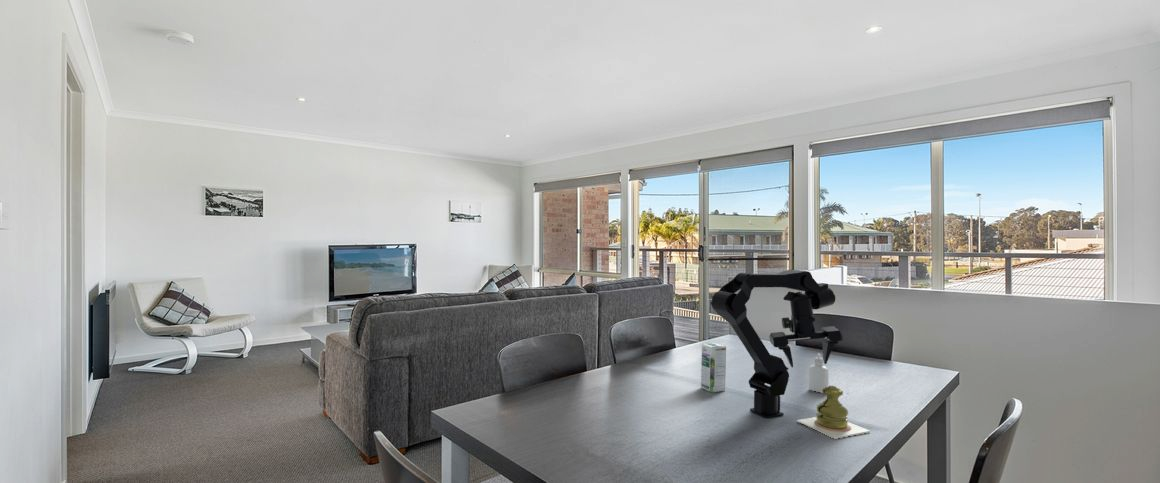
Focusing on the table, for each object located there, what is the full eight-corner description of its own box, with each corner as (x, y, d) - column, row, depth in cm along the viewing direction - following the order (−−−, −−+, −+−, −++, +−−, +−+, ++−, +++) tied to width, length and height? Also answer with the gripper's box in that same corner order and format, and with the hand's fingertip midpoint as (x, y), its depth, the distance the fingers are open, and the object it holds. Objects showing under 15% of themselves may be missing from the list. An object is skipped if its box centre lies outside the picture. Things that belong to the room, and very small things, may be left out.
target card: (834, 439, 121) (834, 437, 121) (796, 422, 132) (796, 419, 132) (869, 432, 126) (869, 430, 126) (830, 416, 137) (830, 414, 137)
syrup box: (700, 387, 161) (700, 343, 161) (714, 385, 164) (715, 342, 163) (711, 393, 156) (712, 347, 156) (726, 390, 158) (726, 345, 158)
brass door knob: (836, 418, 133) (837, 381, 133) (854, 429, 126) (855, 390, 126) (810, 419, 133) (811, 382, 132) (826, 430, 125) (827, 391, 125)
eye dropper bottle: (819, 388, 162) (819, 351, 162) (830, 393, 157) (830, 355, 156) (806, 388, 161) (807, 352, 161) (817, 394, 156) (818, 356, 156)
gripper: (826, 302, 149) (832, 352, 151) (762, 310, 152) (768, 359, 153) (840, 311, 138) (846, 365, 140) (771, 319, 141) (777, 372, 142)
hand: (808, 365), depth 144 cm, fingers open, 9 cm apart
